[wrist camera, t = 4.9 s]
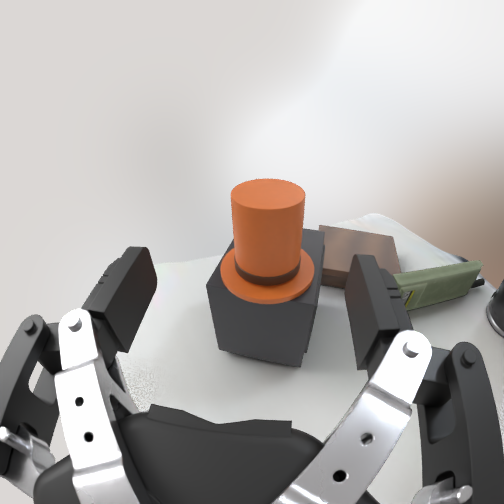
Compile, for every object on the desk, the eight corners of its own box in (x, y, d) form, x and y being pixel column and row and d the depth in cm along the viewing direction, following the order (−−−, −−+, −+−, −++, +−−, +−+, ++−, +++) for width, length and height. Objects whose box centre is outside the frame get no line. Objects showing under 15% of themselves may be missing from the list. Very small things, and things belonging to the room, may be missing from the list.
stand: (387, 254, 48) (392, 236, 45) (394, 299, 38) (402, 280, 36) (317, 243, 51) (319, 224, 49) (309, 286, 42) (312, 266, 39)
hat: (317, 250, 29) (326, 178, 24) (306, 312, 22) (319, 227, 17) (238, 238, 31) (234, 169, 26) (206, 293, 24) (192, 212, 19)
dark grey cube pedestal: (315, 301, 39) (327, 231, 32) (301, 371, 30) (317, 305, 23) (247, 289, 42) (244, 220, 34) (219, 353, 32) (205, 284, 25)
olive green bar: (377, 302, 38) (475, 280, 40) (385, 319, 36) (483, 292, 37) (390, 270, 34) (489, 254, 36) (401, 287, 31) (499, 265, 33)
